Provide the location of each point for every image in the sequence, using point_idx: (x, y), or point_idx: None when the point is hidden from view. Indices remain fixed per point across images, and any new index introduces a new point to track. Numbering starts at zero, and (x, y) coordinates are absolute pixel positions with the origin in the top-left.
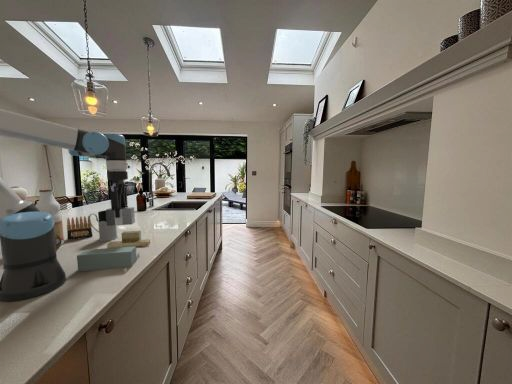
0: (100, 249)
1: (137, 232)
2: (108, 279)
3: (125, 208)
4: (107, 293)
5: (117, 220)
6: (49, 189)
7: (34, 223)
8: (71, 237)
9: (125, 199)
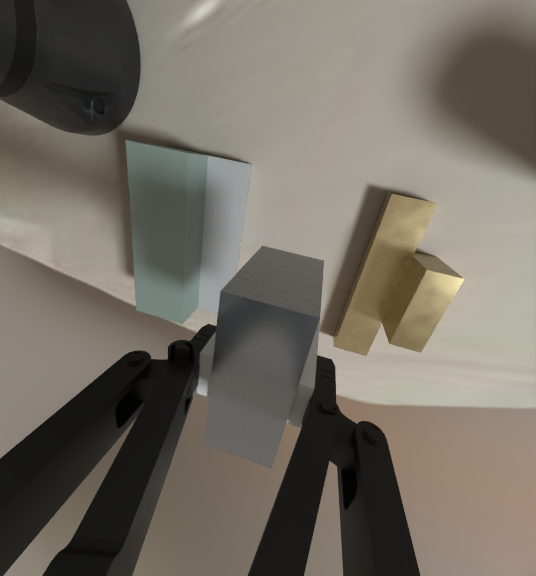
0: (177, 215)
1: (392, 337)
2: (104, 244)
3: (235, 422)
4: (50, 251)
5: None
6: None
7: None
8: None
9: (344, 528)
